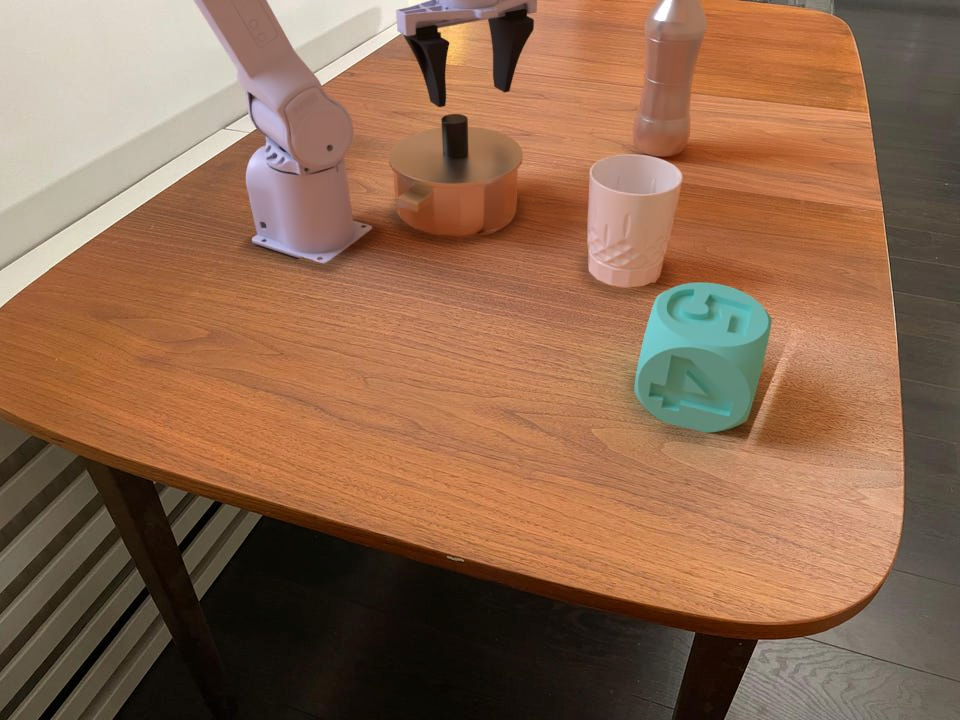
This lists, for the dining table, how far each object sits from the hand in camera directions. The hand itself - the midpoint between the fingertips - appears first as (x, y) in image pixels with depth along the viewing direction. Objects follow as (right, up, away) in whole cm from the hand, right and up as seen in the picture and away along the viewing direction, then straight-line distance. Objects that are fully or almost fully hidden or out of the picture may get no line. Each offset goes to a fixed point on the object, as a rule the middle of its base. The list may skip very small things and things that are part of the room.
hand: (470, 96), depth 78 cm
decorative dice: (+17, -30, -20) cm, 40 cm away
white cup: (+14, -19, -7) cm, 25 cm away
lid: (-2, -7, -1) cm, 7 cm away
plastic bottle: (+22, -2, +14) cm, 26 cm away
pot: (-2, -11, +3) cm, 12 cm away
